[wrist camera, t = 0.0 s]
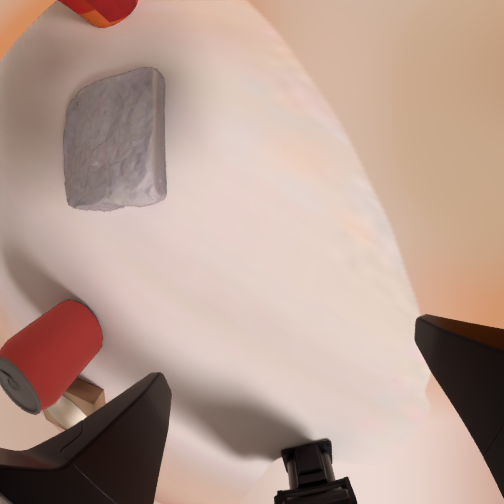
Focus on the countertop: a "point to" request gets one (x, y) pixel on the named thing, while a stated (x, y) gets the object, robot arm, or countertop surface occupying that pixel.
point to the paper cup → (102, 10)
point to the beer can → (49, 355)
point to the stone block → (116, 143)
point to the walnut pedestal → (75, 404)
